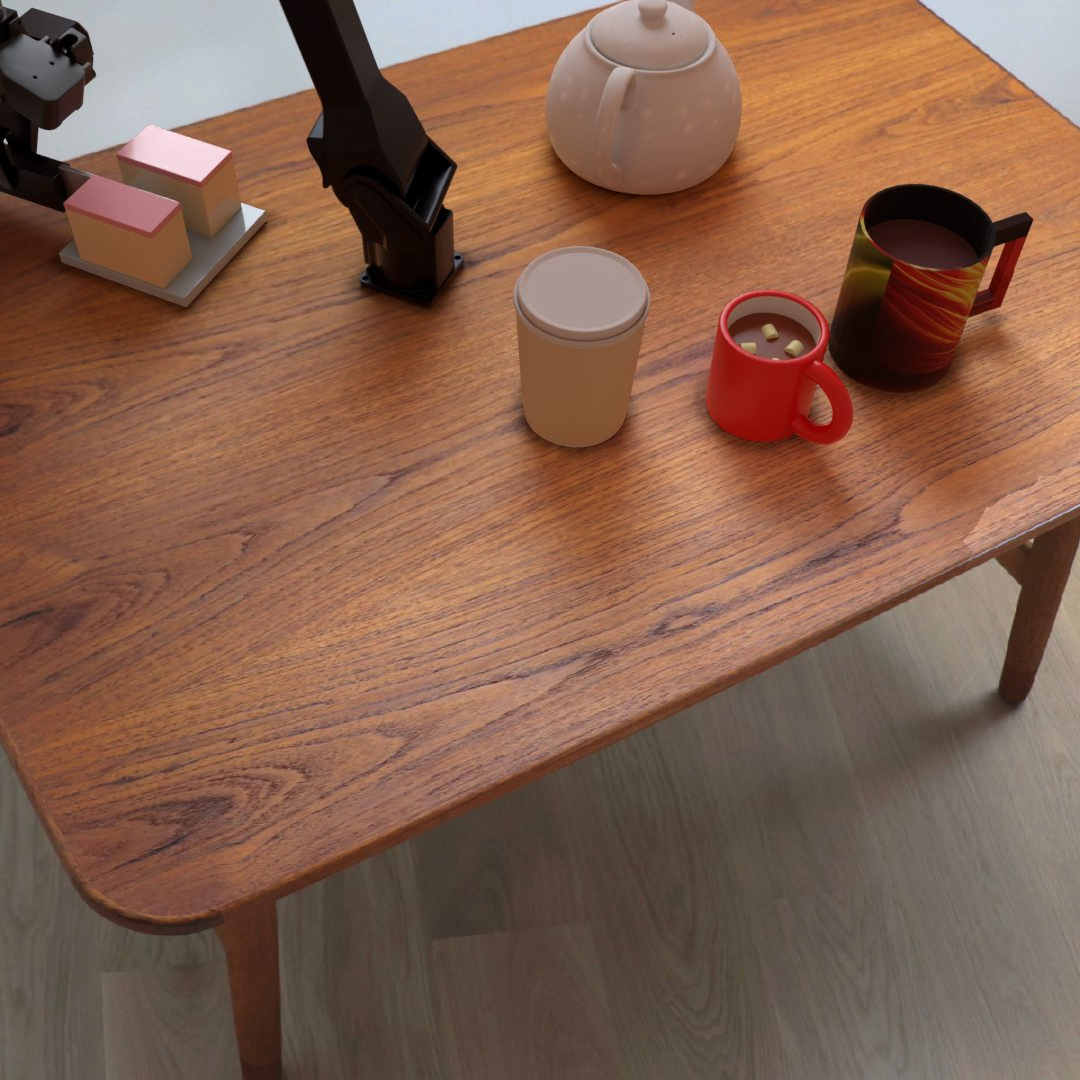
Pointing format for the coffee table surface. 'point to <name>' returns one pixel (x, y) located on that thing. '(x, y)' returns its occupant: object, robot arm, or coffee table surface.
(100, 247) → the cake slice
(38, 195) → the knife
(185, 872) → the coffee table surface
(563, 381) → the coffee cup
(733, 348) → the mug
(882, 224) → the mug
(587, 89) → the teapot
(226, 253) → the cake plate
